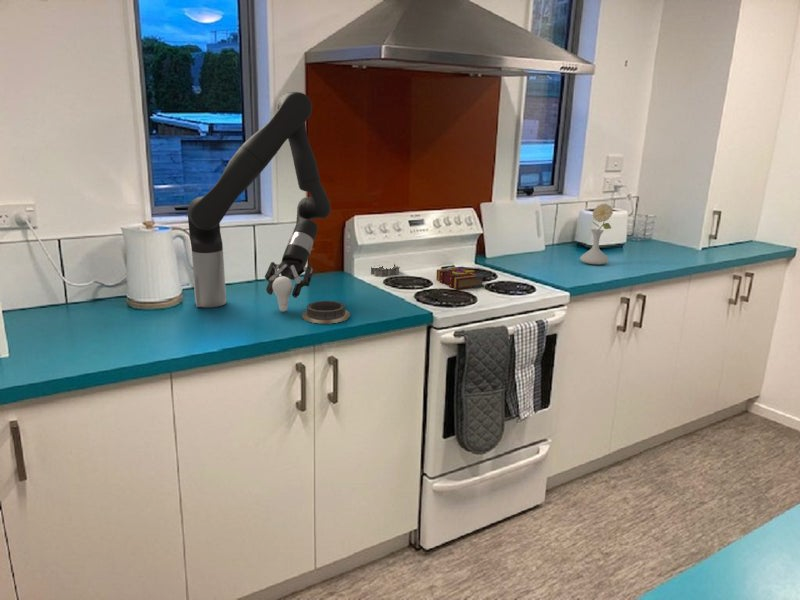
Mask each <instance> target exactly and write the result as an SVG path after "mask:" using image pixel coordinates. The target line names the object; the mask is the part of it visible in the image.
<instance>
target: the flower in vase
mask: <svg viewBox="0 0 800 600" xmlns="http://www.w3.org/2000/svg"><path fill="white" fill-rule="evenodd" d="M613 213H614V212H613V207H612V206H611V205H609V204H607V203H600V204H599V205H597V206H596V207H594V210H593V211H592V219H593V220H595V221H597V222H598V223H602V224H601V226H599V224H598V223H595V222H594V221H592V223H593V224H594V225H595V226H597V227H599V228H598V229H596V228H593V229H591V230H590V231H591V233H592V236H593V239H592V242H593V243H592V247H591V248H590V249H589V250H587V251H586V252H585V253H583V254H582V255H581V256H580V258H579V259H580V261H581V262H583V263H585V264H589V265H604V264H607V263H609V261H610V260H609V257H608V256H607V255H606V254H605V253H604V252H603V251H602V250H601V249H600V246H599V245H600V244H599V243H600V239H601V236H602V234H603V232H604V231H605V230H610V229H612V227H611V225H610V223H609V222H607V221H608V220H609V219H610V218H612V217H611V216H612V215H613ZM602 227H603V229H604V230H603V229H601V228H602Z"/></svg>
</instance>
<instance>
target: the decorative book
mask: <svg viewBox="0 0 800 600" xmlns="http://www.w3.org/2000/svg"><path fill="white" fill-rule="evenodd" d="M485 277H486V275H485V274H482V273H479V272H476V271H475V270H473V269H471V270H470V269H468V267H465V266H454V267H450V268H441V269H436V281H438V282H439V283H440V284H442V285H443V284H444V285H446V286H448V288H450V289H454V290H458V291H460V290H465V289H479V288H485V285H484V284H483V279H484V278H485Z"/></svg>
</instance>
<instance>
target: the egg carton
mask: <svg viewBox="0 0 800 600" xmlns="http://www.w3.org/2000/svg"><path fill="white" fill-rule="evenodd" d="M370 267H371V274H370V275H373V277H379V278H380V277H385V276H387V277H389V276H391V275H394V276H396V275H399V274H400V269H401V267H400V266H398V265H396V264H395V263H394V267H393V268H392V269H391V268H390V269H387V268H386V269H384V268H383V266H382V267H379V268H372V267H373V266H370Z"/></svg>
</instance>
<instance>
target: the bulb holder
mask: <svg viewBox="0 0 800 600" xmlns="http://www.w3.org/2000/svg"><path fill="white" fill-rule="evenodd" d="M350 316H351V315H350V312H349V311H348V310H346V305H345V304H344V303H343V302H339V301H335V300H318V301H313V302H311V303H309V304H308V305H307V306H306V310H305V311H303V312H302V320H303V319H304V321H305V320H306V321H308V322H307V323H309V322H312V323H311V324H314V323H318V324H317V325H333V324H332V323H336V324H339V323H338V322H341V323H343V322H342V321H344V322H345V320H346V321H348V320H349V319H350V318H349V317H350ZM348 318H349V319H348ZM347 319H348V320H347ZM306 321H305V322H306Z"/></svg>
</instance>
